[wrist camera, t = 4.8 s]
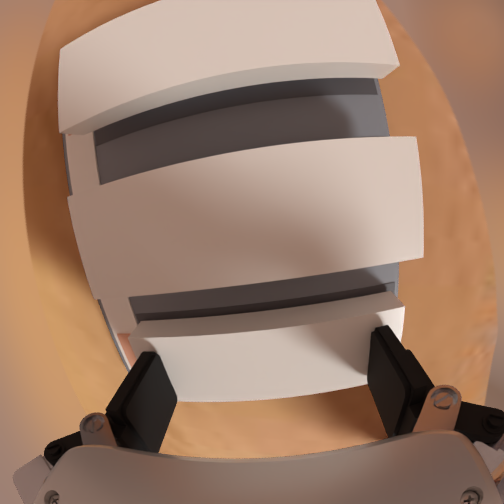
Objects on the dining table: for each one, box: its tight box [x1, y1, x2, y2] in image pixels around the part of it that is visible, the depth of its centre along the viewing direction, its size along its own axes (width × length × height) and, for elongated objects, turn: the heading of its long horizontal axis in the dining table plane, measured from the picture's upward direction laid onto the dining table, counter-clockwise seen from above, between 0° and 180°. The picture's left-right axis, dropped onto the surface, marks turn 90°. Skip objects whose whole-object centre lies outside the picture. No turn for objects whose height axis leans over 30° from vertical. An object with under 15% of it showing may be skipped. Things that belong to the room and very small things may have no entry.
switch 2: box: [128, 291, 405, 402], centre depth 12 cm, size 4×12×2 cm, turn 99°
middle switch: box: [67, 137, 424, 299], centre depth 9 cm, size 4×12×2 cm, turn 99°
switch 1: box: [58, 0, 400, 136], centre depth 7 cm, size 4×12×2 cm, turn 99°
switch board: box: [62, 78, 399, 373], centre depth 12 cm, size 20×15×2 cm
